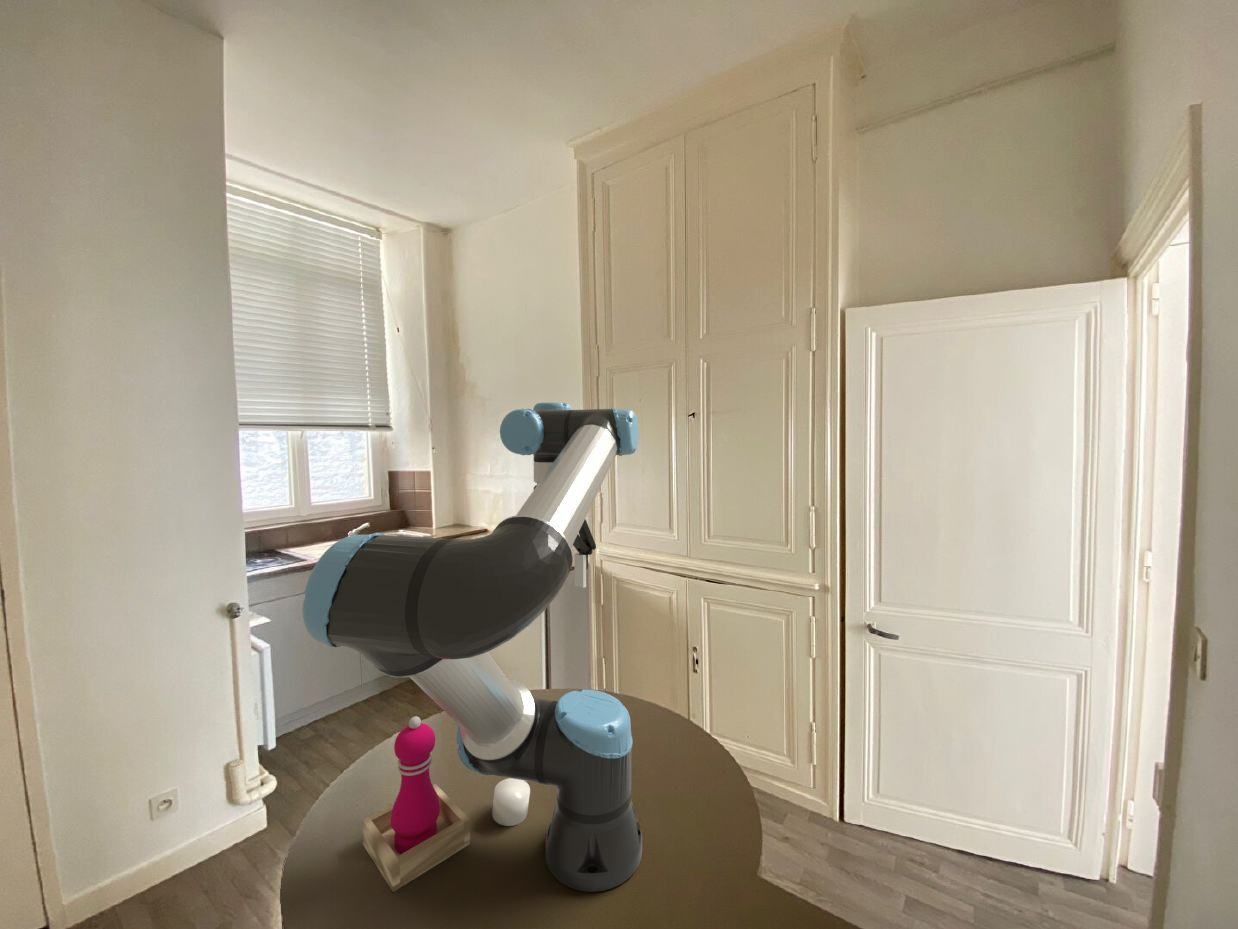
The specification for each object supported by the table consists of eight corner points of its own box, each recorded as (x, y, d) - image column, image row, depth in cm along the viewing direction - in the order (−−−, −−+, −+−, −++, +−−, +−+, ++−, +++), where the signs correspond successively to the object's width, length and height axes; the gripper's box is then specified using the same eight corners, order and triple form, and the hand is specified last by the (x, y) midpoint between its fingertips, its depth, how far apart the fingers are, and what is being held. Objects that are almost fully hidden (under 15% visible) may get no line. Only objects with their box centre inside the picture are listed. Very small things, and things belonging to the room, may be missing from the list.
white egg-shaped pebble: (495, 798, 88) (497, 776, 88) (529, 800, 89) (531, 779, 89) (489, 825, 82) (491, 802, 82) (525, 827, 83) (528, 804, 83)
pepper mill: (423, 862, 75) (422, 733, 74) (380, 854, 76) (378, 727, 75) (448, 826, 82) (448, 707, 81) (409, 819, 83) (407, 702, 82)
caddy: (470, 843, 79) (469, 819, 79) (393, 892, 71) (392, 865, 71) (435, 805, 88) (435, 783, 87) (362, 845, 79) (362, 820, 79)
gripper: (588, 479, 107) (588, 577, 108) (485, 486, 89) (486, 603, 90) (613, 481, 102) (613, 584, 103) (508, 489, 84) (509, 613, 85)
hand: (553, 593), depth 96 cm, fingers open, 13 cm apart
